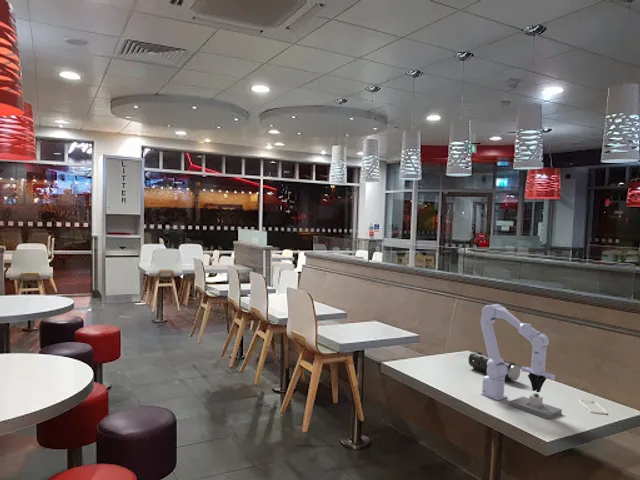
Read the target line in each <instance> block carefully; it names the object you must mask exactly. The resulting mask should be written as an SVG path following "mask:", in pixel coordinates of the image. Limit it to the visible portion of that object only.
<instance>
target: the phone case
mask: <svg viewBox="0 0 640 480" xmlns="http://www.w3.org/2000/svg"><path fill="white" fill-rule="evenodd" d="M583 401H584V402H585V401H586V402H590V400H589V399H578V403H580V404H581V405H582V406H583V407H584V408H586V409H587V411H588V412H589V413H591V414H600V415H606V414H607V415H608V411H606V409H605V408H603V407H602V406H601V405H600V404H599V403H598V402H596V400H591V403H592V404H595V405H596V406H598V408H599V407H600V408H599V409H600V410H602V411H599V410H598V411H596V410H591V409H590V408H589V407H588V406H587V405H585V403H584V402H583Z"/></svg>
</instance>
